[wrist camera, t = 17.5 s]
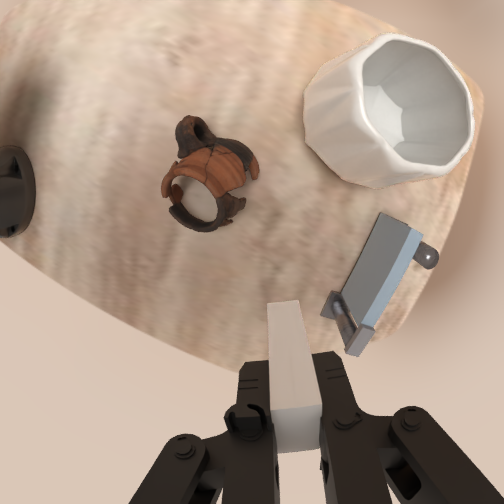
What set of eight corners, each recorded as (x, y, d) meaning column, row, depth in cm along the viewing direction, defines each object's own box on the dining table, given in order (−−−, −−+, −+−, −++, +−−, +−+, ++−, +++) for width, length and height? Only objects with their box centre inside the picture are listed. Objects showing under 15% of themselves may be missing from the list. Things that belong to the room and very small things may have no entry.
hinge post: (320, 314, 35) (331, 351, 28) (331, 290, 34) (346, 324, 27) (344, 320, 35) (359, 357, 28) (355, 297, 34) (375, 331, 27)
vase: (405, 77, 25) (478, 41, 11) (410, 187, 30) (492, 209, 15) (294, 64, 26) (313, -4, 12) (298, 183, 31) (326, 200, 16)
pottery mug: (277, 191, 32) (249, 234, 26) (213, 206, 37) (179, 244, 31) (234, 94, 26) (189, 113, 20) (171, 125, 31) (124, 151, 25)
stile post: (373, 241, 32) (409, 271, 22) (383, 213, 31) (424, 234, 21) (396, 250, 32) (435, 281, 23) (406, 223, 31) (450, 247, 22)
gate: (340, 315, 35) (358, 357, 26) (330, 311, 35) (345, 353, 26) (391, 217, 30) (427, 236, 22) (380, 212, 30) (415, 229, 22)
